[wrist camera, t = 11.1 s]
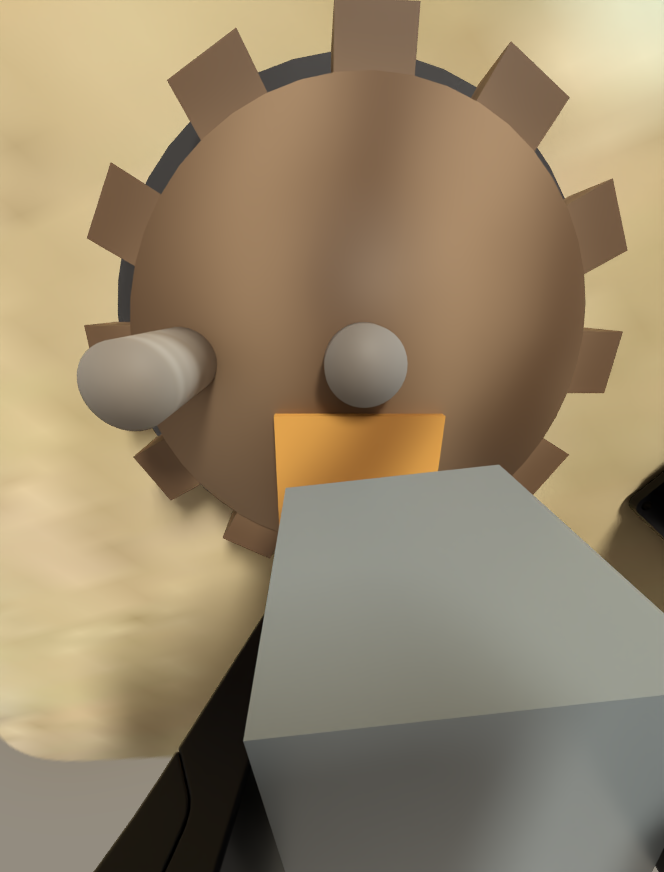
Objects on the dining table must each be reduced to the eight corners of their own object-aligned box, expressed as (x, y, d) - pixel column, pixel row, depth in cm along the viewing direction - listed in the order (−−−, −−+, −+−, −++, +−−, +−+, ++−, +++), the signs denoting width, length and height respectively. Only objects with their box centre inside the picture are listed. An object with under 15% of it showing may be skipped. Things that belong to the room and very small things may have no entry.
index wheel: (648, 66, 10) (983, -169, 5) (526, 535, 16) (622, 644, 11) (61, 38, 9) (-241, -272, 4) (161, 541, 15) (85, 661, 10)
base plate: (656, 316, 14) (671, 317, 13) (370, 585, 18) (372, 594, 18) (317, -110, 9) (317, -136, 9) (47, 383, 14) (35, 386, 13)
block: (499, 464, 8) (743, 686, 3) (485, 621, 10) (635, 905, 5) (285, 487, 8) (243, 740, 3) (312, 640, 10) (307, 941, 5)
